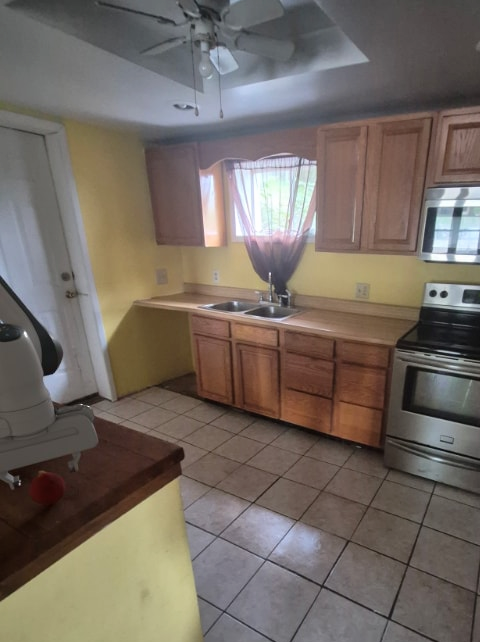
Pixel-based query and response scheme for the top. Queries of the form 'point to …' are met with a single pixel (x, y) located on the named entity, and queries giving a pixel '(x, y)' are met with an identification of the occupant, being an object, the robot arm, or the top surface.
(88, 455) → the top surface
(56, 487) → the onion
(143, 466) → the top surface
